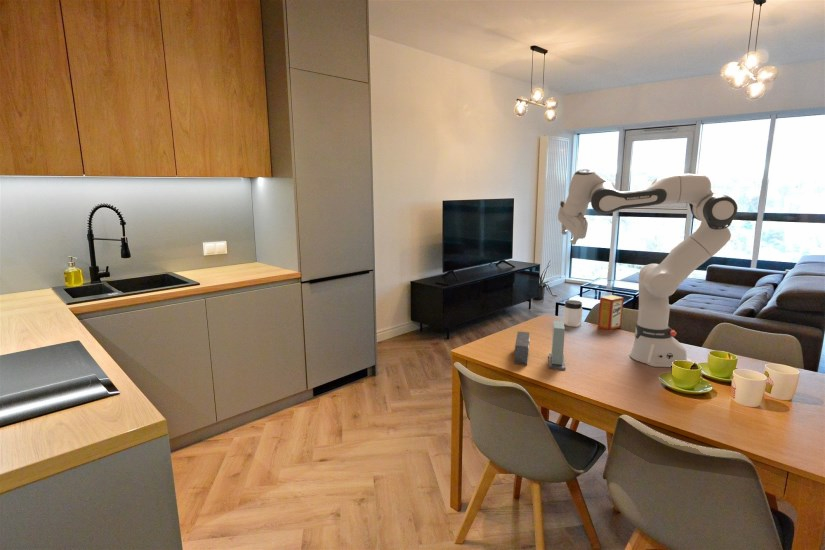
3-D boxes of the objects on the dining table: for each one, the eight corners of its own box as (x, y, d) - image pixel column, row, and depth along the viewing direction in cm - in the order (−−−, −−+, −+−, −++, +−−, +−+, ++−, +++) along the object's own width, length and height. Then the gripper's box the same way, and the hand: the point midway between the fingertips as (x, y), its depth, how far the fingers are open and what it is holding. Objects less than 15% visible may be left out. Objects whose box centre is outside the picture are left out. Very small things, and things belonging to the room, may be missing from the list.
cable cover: (561, 356, 184) (563, 321, 181) (562, 364, 175) (564, 328, 172) (551, 355, 185) (553, 320, 182) (551, 363, 176) (553, 327, 173)
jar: (575, 328, 223) (577, 305, 221) (560, 324, 229) (561, 302, 226) (583, 324, 229) (585, 301, 227) (568, 320, 235) (570, 299, 233)
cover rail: (563, 357, 186) (563, 354, 185) (565, 370, 172) (565, 367, 172) (548, 355, 187) (548, 353, 187) (549, 368, 174) (549, 366, 174)
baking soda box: (609, 324, 229) (612, 294, 226) (621, 327, 224) (623, 296, 221) (597, 327, 224) (600, 296, 221) (609, 330, 219) (612, 299, 216)
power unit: (529, 349, 194) (530, 332, 193) (527, 365, 177) (528, 346, 176) (516, 348, 196) (517, 331, 194) (514, 364, 179) (515, 345, 177)
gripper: (594, 218, 174) (586, 249, 181) (572, 199, 191) (565, 228, 198) (579, 218, 173) (571, 250, 180) (558, 199, 190) (552, 228, 197)
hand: (568, 238), depth 189 cm, fingers open, 8 cm apart
